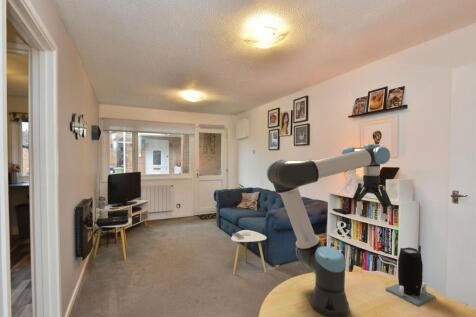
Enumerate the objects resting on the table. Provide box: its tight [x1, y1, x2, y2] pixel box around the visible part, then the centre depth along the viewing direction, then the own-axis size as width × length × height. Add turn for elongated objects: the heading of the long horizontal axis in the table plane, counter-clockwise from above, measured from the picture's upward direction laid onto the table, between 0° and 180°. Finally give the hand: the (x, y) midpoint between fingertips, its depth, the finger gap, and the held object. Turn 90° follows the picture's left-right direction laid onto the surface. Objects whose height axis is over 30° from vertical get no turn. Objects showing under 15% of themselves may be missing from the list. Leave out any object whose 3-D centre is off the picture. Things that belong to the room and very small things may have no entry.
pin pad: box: [385, 281, 437, 307], centre depth 115 cm, size 14×14×5 cm
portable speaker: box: [397, 247, 424, 296], centre depth 115 cm, size 9×9×20 cm
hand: (370, 216), depth 126 cm, fingers open, 13 cm apart
